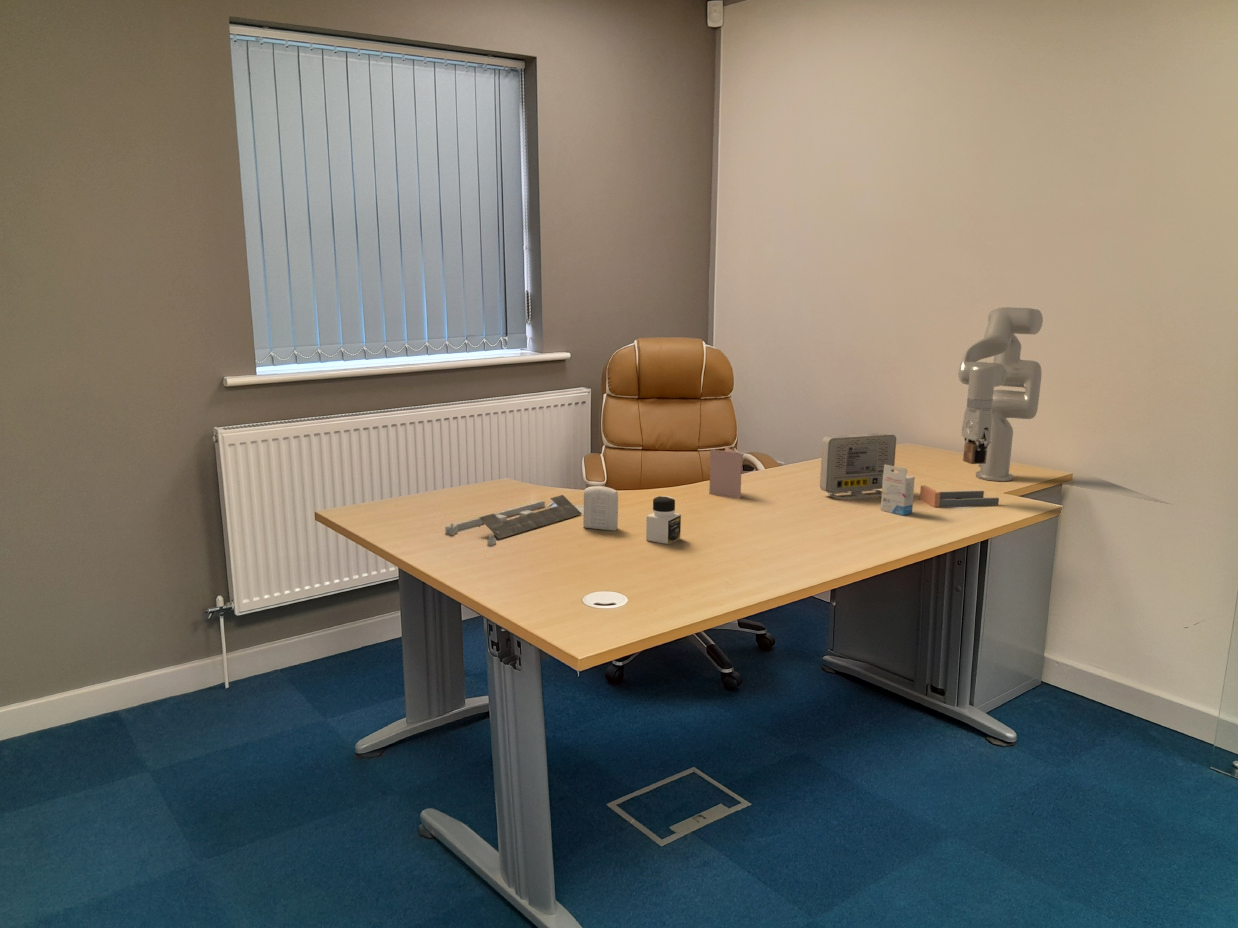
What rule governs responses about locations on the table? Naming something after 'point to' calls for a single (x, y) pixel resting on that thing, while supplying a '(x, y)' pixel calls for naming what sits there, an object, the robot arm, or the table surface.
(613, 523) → the gravestone
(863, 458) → the network device
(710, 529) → the table surface
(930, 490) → the guide channel
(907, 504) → the ink box
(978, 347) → the robot arm
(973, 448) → the block
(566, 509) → the paper cutter
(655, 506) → the medicine bottle
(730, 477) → the greeting card
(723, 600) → the table surface
